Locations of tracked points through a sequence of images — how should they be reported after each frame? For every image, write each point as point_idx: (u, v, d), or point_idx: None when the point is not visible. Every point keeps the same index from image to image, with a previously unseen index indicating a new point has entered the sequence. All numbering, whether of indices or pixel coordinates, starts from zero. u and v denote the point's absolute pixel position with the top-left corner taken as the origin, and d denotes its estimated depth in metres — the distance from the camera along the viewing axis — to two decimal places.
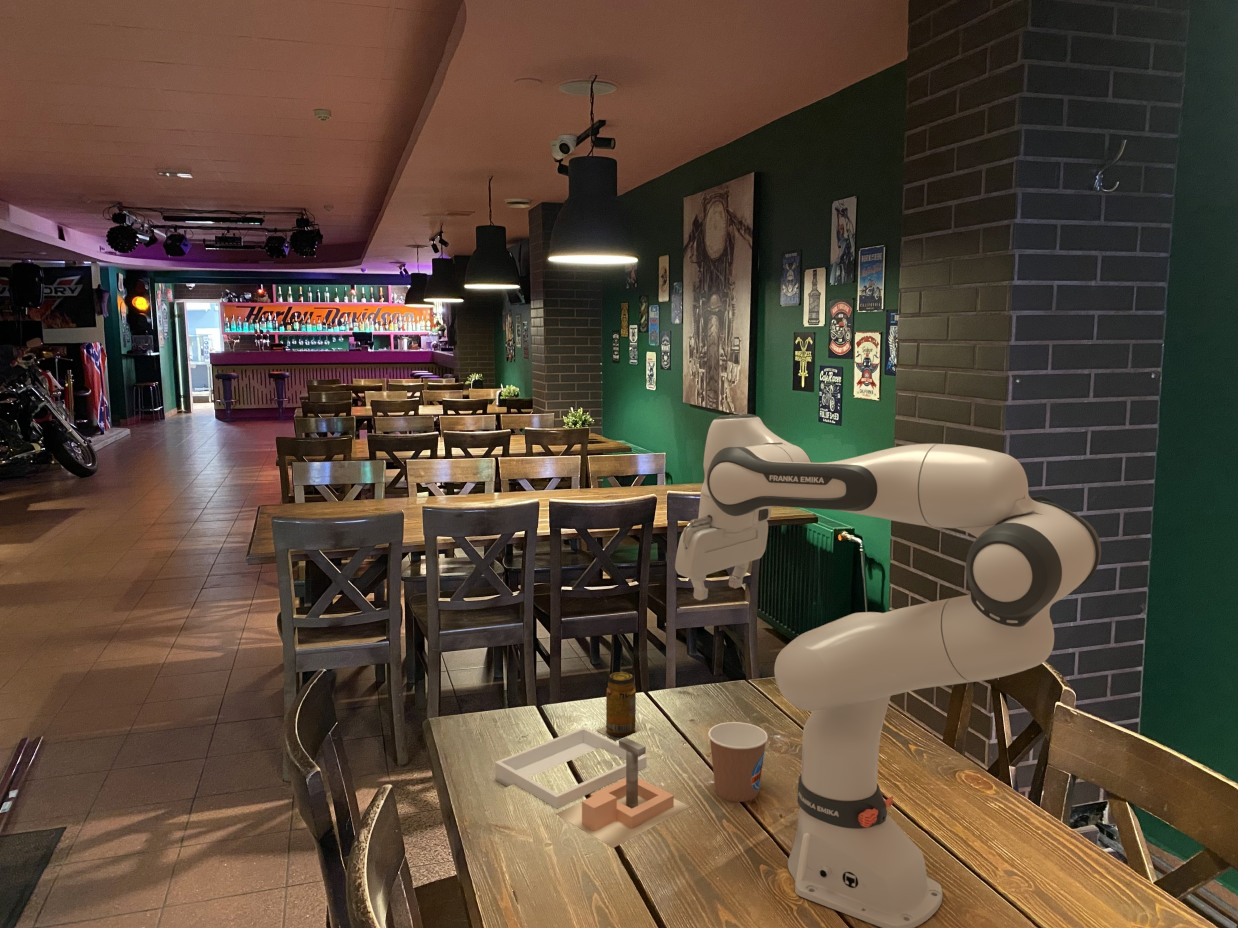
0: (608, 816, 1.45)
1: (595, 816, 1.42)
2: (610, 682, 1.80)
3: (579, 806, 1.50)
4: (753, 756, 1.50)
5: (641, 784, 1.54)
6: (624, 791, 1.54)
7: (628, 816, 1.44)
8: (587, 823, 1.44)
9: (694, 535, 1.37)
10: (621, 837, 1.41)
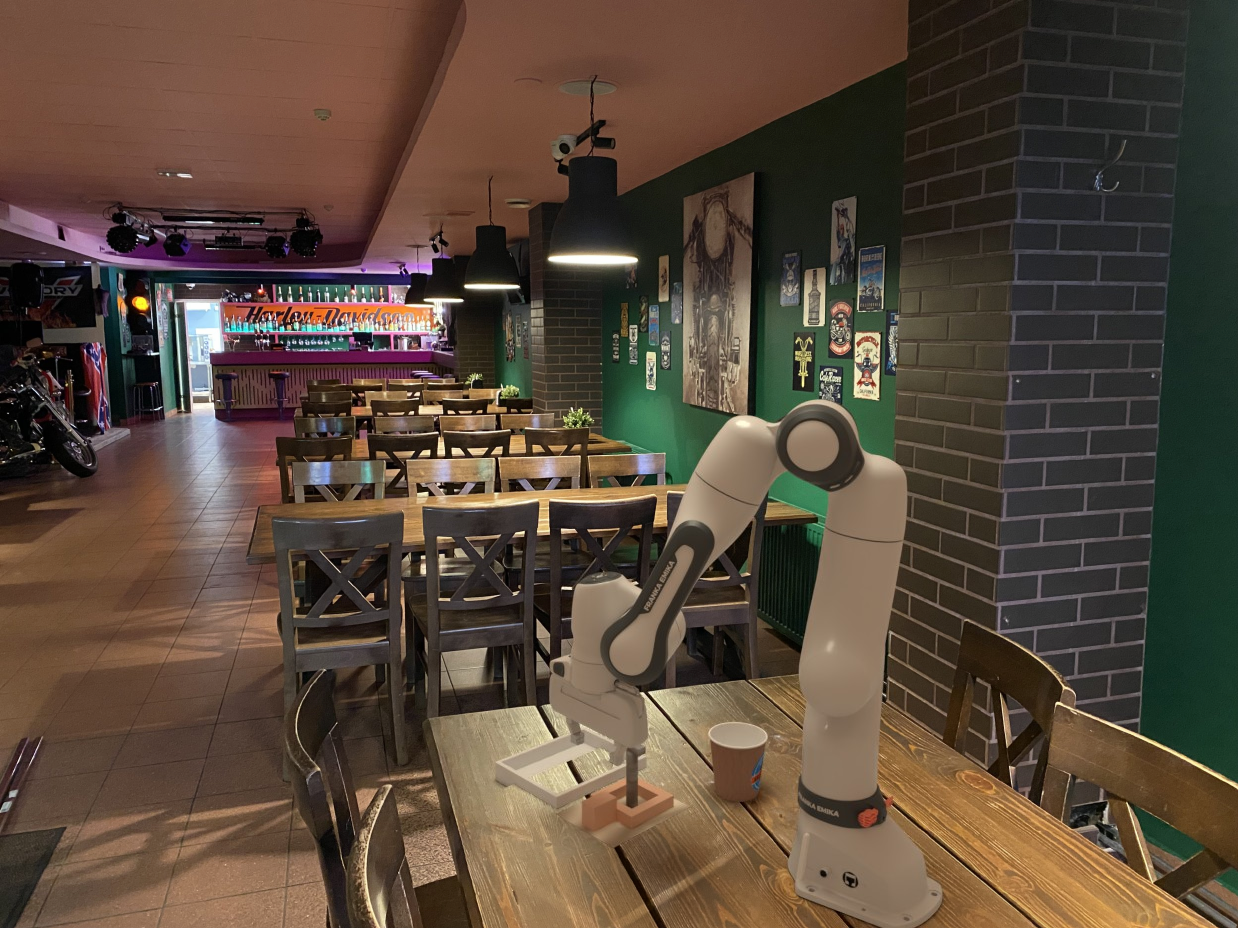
0: (608, 816, 1.45)
1: (595, 816, 1.42)
2: None
3: (579, 806, 1.50)
4: (753, 756, 1.50)
5: (641, 784, 1.54)
6: (624, 791, 1.54)
7: (628, 816, 1.44)
8: (587, 823, 1.44)
9: None
10: (621, 837, 1.41)
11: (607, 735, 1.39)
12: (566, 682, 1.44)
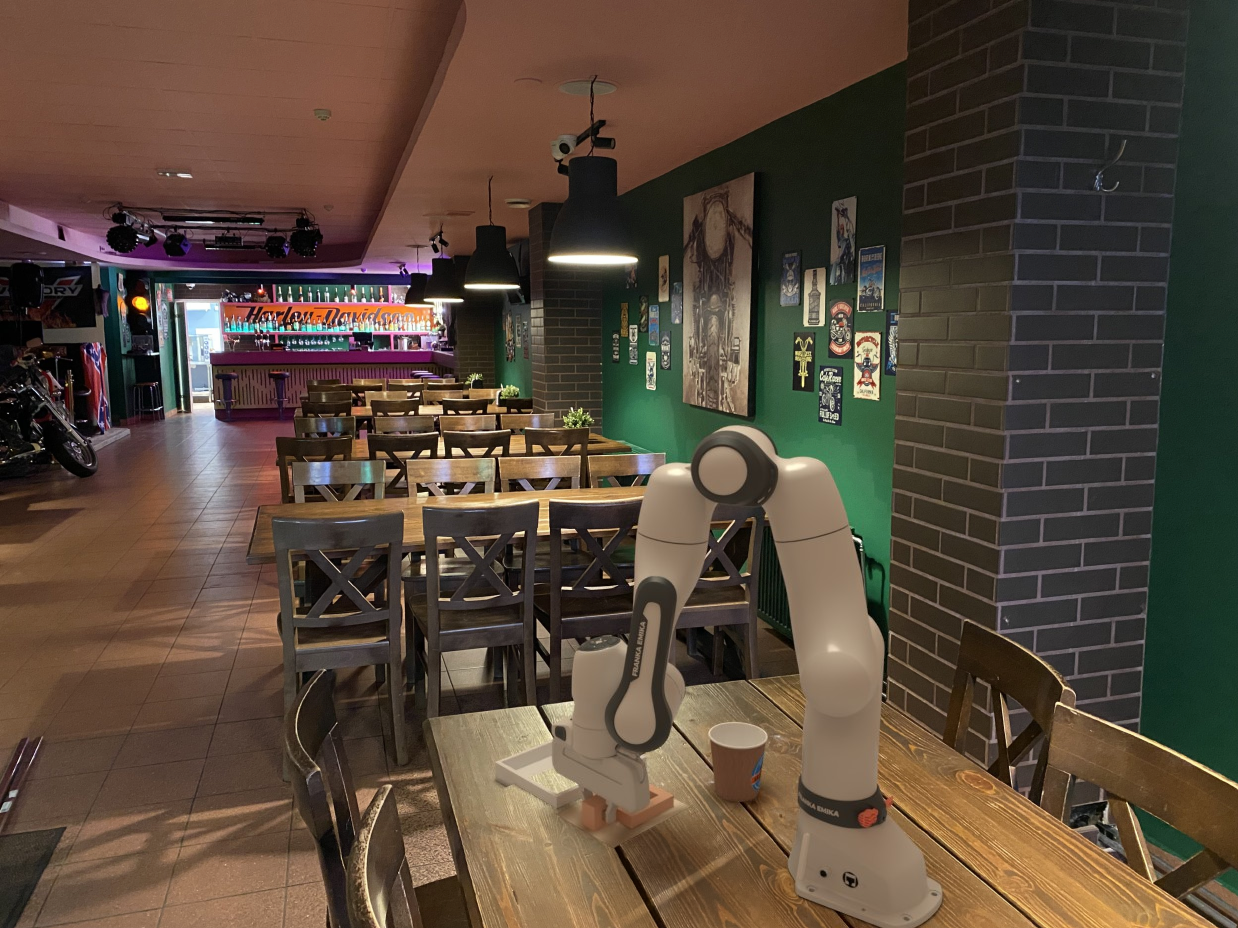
0: None
1: (595, 816, 1.42)
2: None
3: (579, 806, 1.50)
4: (753, 756, 1.50)
5: None
6: None
7: (628, 816, 1.44)
8: (587, 823, 1.44)
9: None
10: (621, 837, 1.41)
11: (609, 799, 1.40)
12: (568, 746, 1.45)
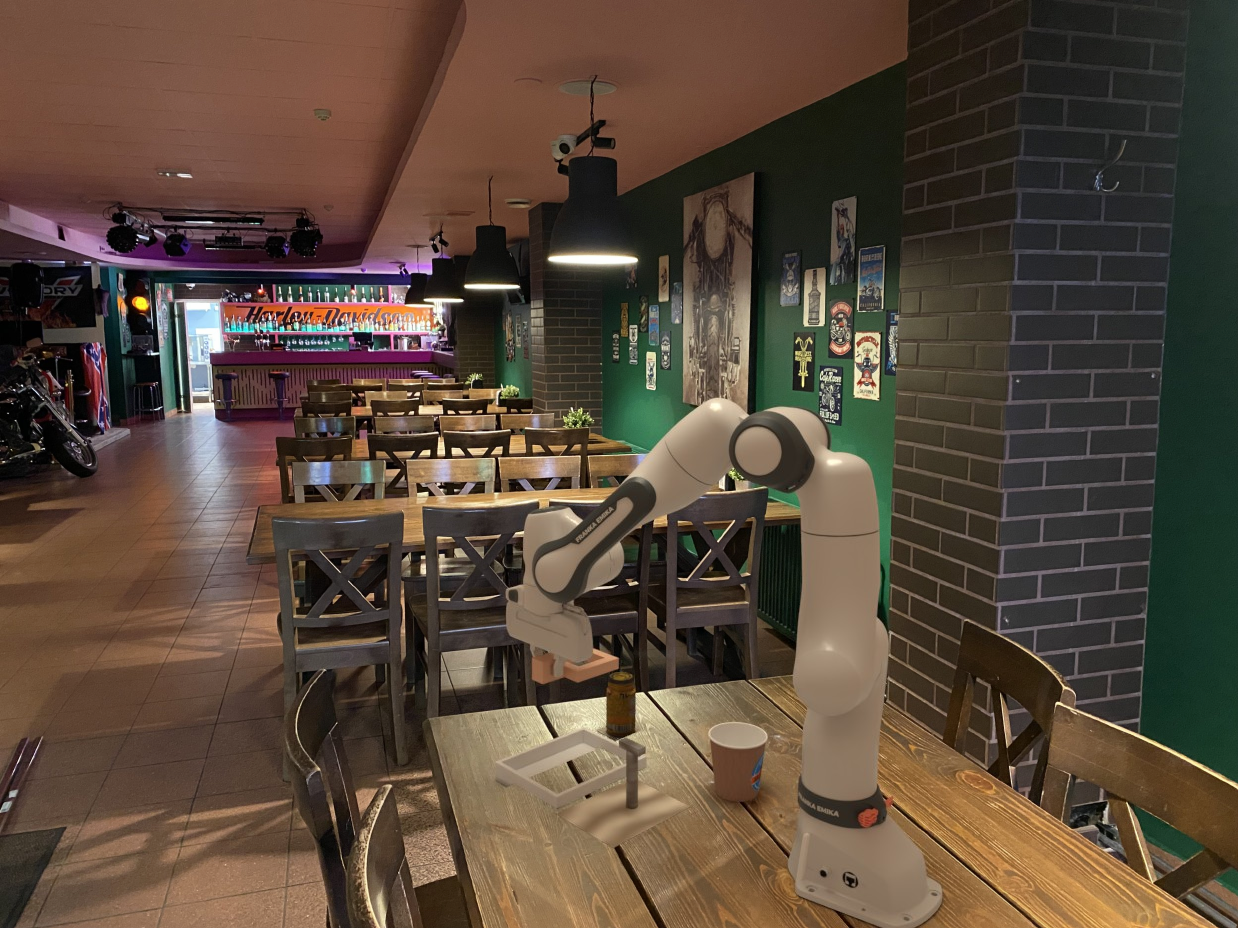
0: None
1: (543, 670, 1.54)
2: (610, 682, 1.80)
3: (579, 806, 1.50)
4: (753, 756, 1.50)
5: None
6: None
7: (574, 671, 1.56)
8: (536, 678, 1.56)
9: None
10: (621, 837, 1.41)
11: (556, 653, 1.52)
12: (520, 607, 1.57)
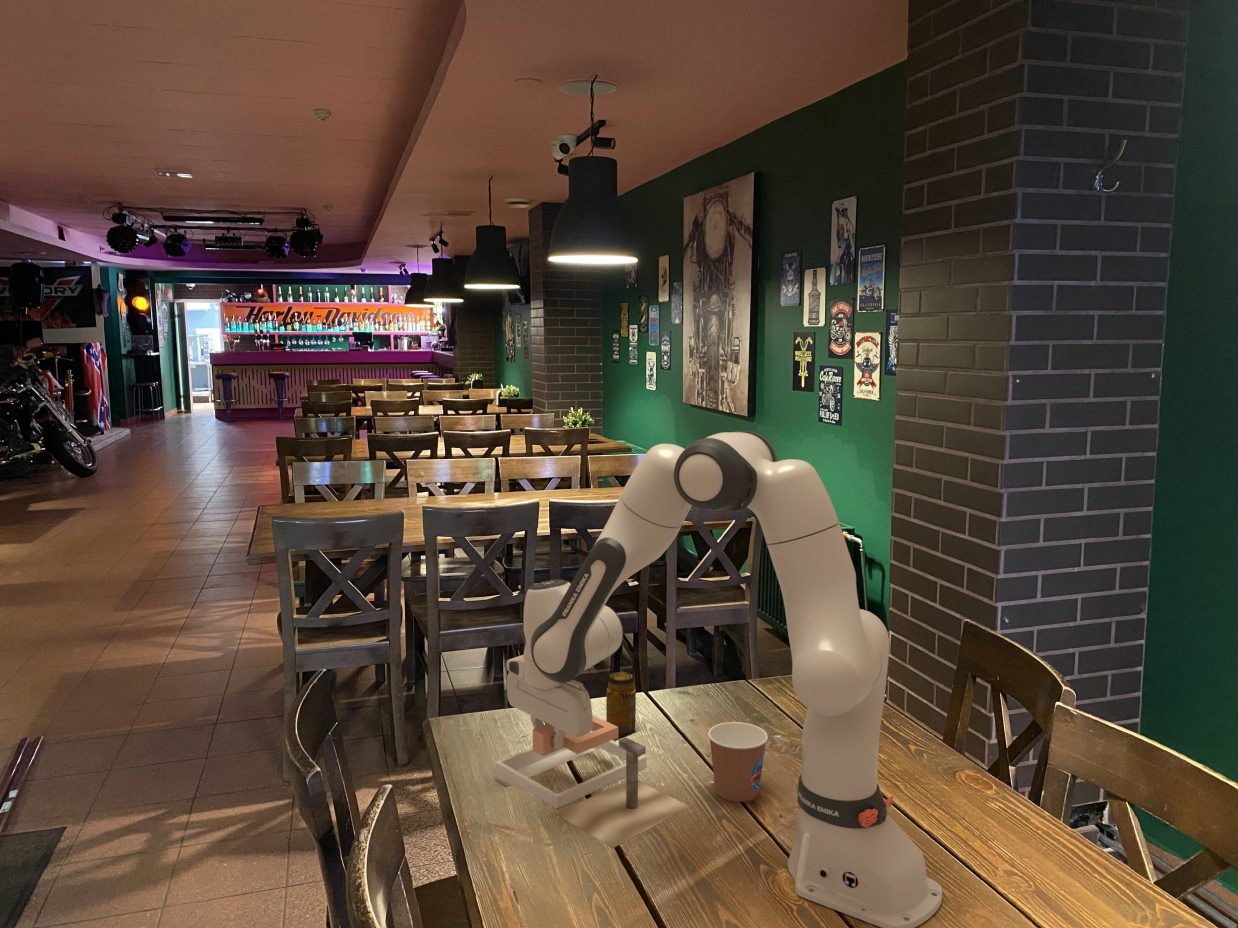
0: None
1: (544, 742, 1.56)
2: (610, 682, 1.80)
3: (579, 806, 1.50)
4: (753, 756, 1.50)
5: None
6: None
7: (574, 743, 1.58)
8: (537, 749, 1.57)
9: None
10: (621, 837, 1.41)
11: (557, 726, 1.54)
12: (520, 679, 1.59)
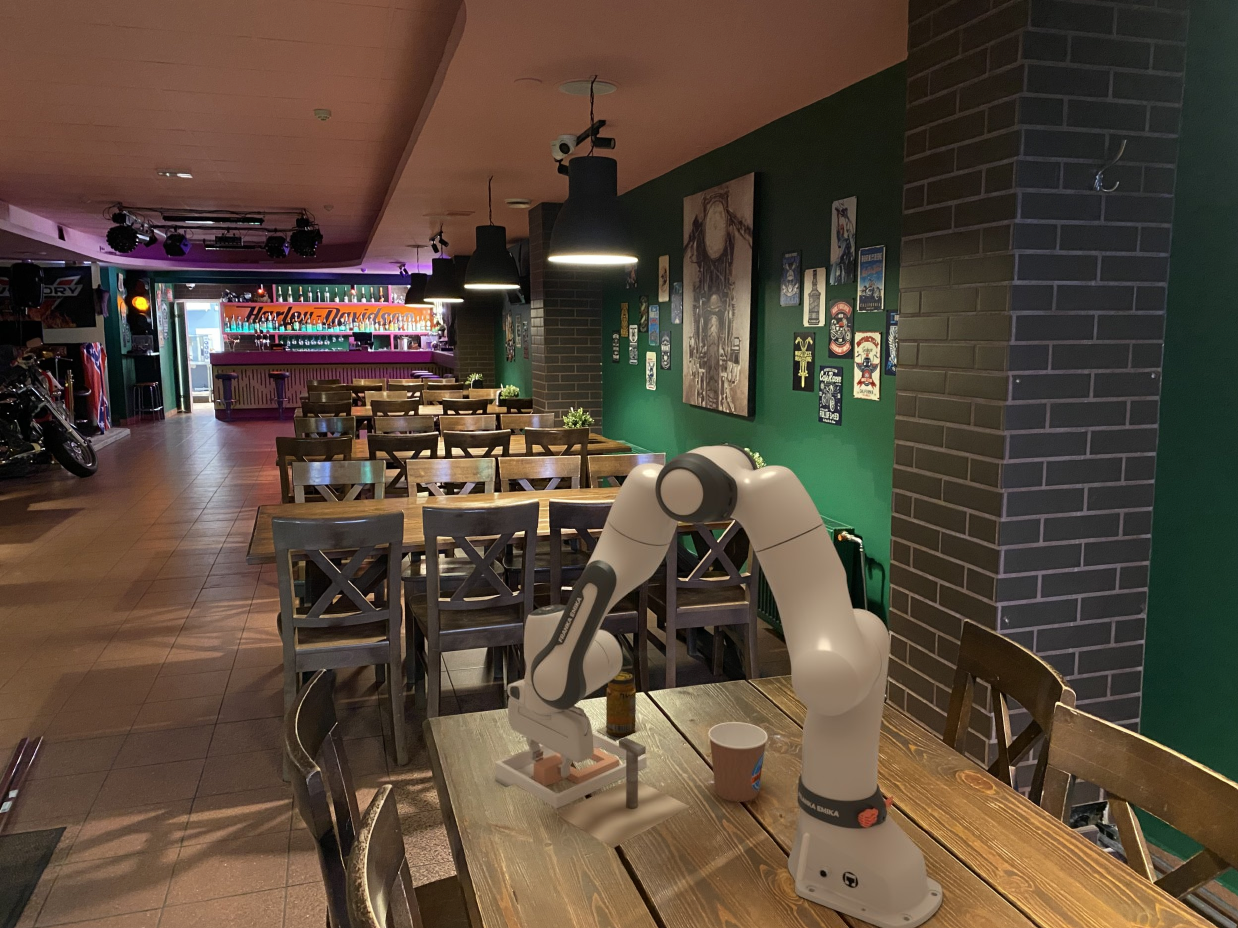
0: (557, 777, 1.59)
1: (545, 776, 1.57)
2: (610, 682, 1.80)
3: (579, 806, 1.50)
4: (753, 756, 1.50)
5: None
6: None
7: (575, 777, 1.58)
8: None
9: None
10: (621, 837, 1.41)
11: (558, 751, 1.55)
12: (521, 704, 1.59)
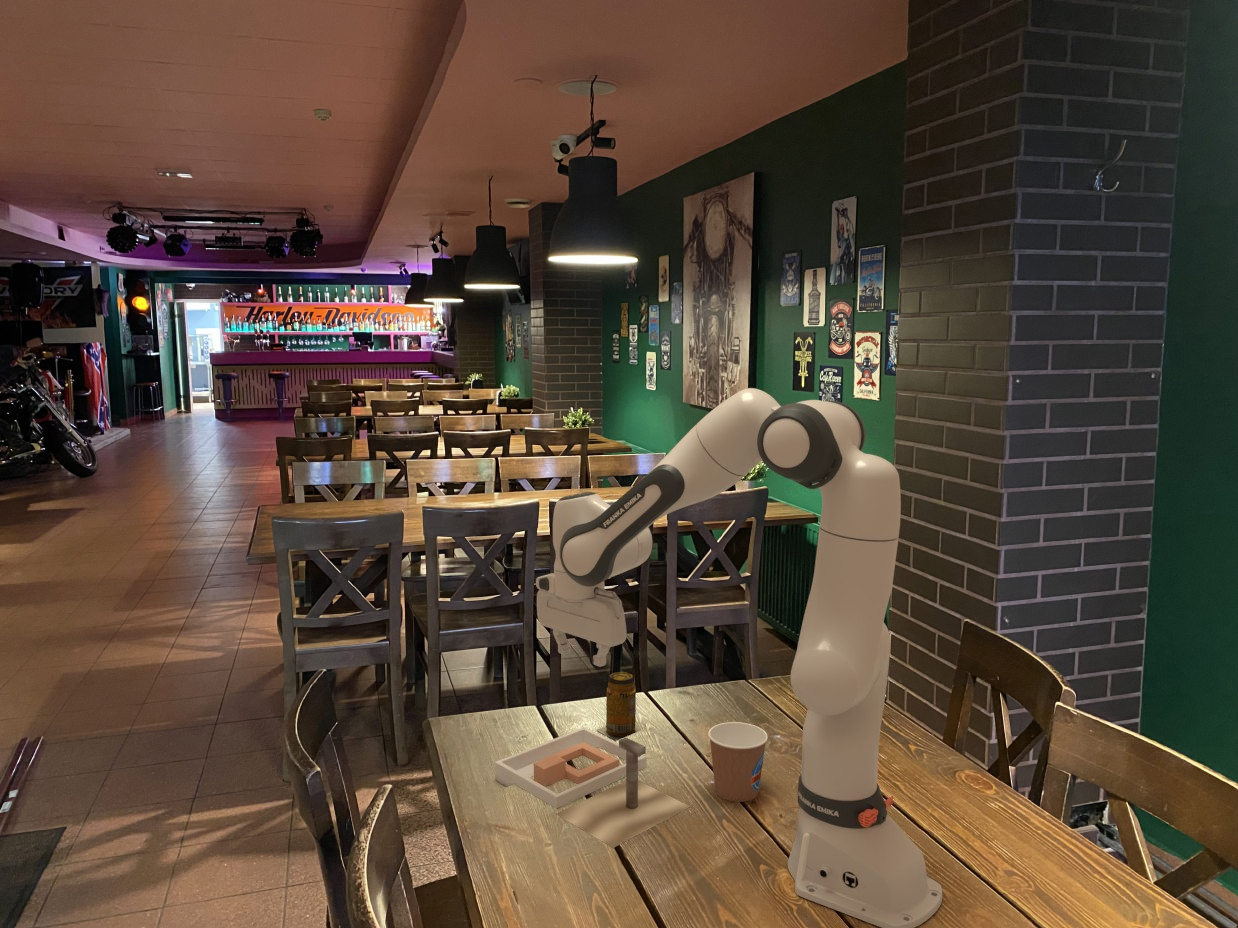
0: (557, 777, 1.59)
1: (545, 776, 1.57)
2: (610, 682, 1.80)
3: (579, 806, 1.50)
4: (753, 756, 1.50)
5: (590, 750, 1.68)
6: (575, 756, 1.68)
7: (575, 777, 1.58)
8: None
9: None
10: (621, 837, 1.41)
11: (590, 638, 1.53)
12: (551, 595, 1.58)
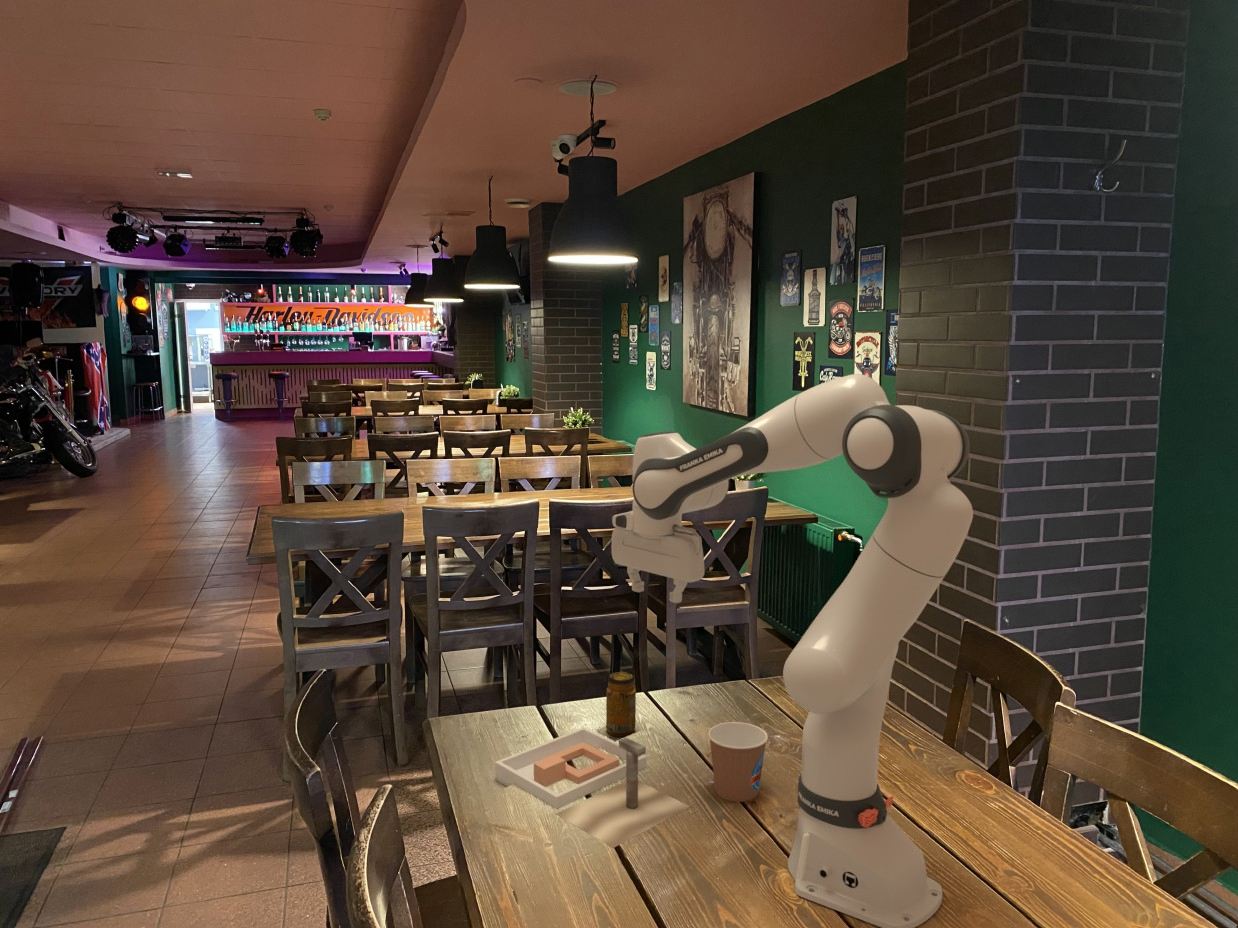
0: (557, 777, 1.59)
1: (545, 776, 1.57)
2: (610, 682, 1.80)
3: (579, 806, 1.50)
4: (753, 756, 1.50)
5: (590, 750, 1.68)
6: (575, 756, 1.68)
7: (575, 777, 1.58)
8: None
9: None
10: (621, 837, 1.41)
11: (667, 575, 1.55)
12: (628, 533, 1.60)
